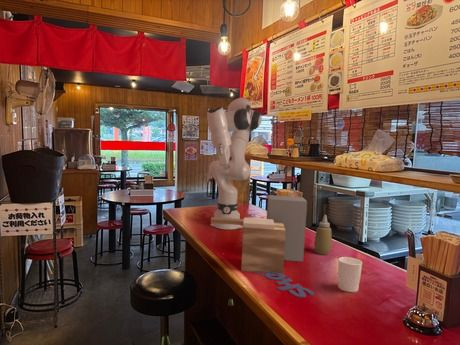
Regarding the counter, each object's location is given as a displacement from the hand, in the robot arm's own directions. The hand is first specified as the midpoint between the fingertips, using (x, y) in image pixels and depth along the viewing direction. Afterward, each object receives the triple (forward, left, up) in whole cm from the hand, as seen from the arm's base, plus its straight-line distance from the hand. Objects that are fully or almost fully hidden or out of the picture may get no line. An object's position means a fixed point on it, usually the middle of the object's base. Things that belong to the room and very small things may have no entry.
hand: (227, 170), depth 160 cm
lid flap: (+27, +9, -19) cm, 34 cm away
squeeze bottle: (+3, +47, -36) cm, 59 cm away
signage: (+39, +24, -36) cm, 59 cm away
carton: (+11, +28, -36) cm, 47 cm away
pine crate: (+27, +18, -36) cm, 48 cm away
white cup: (+42, +48, -36) cm, 73 cm away
